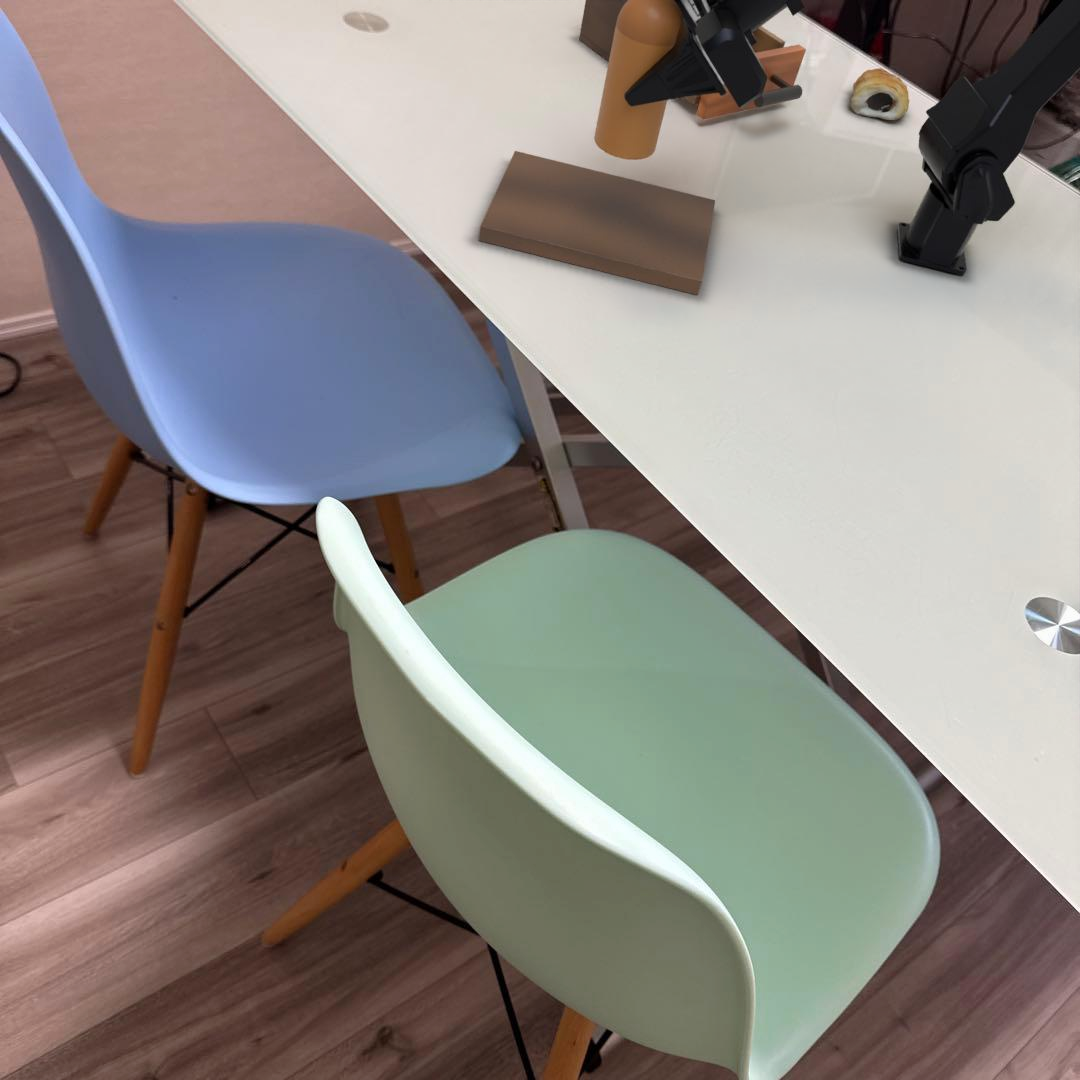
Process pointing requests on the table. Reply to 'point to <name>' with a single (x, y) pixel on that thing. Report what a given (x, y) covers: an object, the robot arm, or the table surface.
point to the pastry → (880, 95)
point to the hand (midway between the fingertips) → (621, 83)
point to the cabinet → (600, 25)
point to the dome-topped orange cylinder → (635, 77)
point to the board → (600, 222)
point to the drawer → (780, 82)
